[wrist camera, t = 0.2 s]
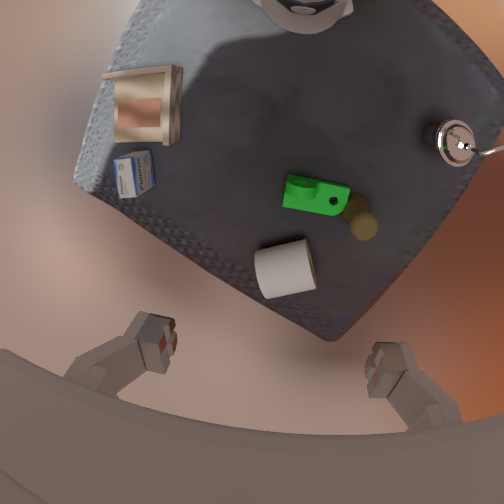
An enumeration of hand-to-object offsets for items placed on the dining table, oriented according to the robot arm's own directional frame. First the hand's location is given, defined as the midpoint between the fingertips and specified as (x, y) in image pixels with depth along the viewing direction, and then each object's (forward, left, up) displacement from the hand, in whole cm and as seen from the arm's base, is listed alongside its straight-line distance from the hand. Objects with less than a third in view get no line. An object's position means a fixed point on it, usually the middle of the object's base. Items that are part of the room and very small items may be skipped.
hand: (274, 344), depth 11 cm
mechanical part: (+8, +6, -47) cm, 48 cm away
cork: (+9, +14, -48) cm, 51 cm away
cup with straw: (-9, +29, -48) cm, 56 cm away
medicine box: (+5, -29, -48) cm, 56 cm away
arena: (-8, -29, -47) cm, 56 cm away
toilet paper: (+22, +2, -48) cm, 53 cm away
